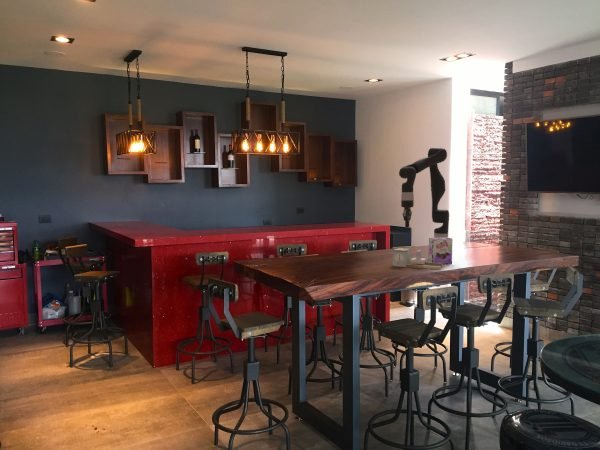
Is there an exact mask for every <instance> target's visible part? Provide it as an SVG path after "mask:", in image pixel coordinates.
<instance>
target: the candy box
mask: <svg viewBox="0 0 600 450" xmlns="http://www.w3.org/2000/svg"><path fill="white" fill-rule="evenodd" d="M427 257H428V259H427V262H433V263H442V265H448V264H449V265H450V264H451V265H452V264H453V238H452V237H448V238H434V237H428V256H427Z"/></svg>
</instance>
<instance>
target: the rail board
mask: <svg viewBox="0 0 600 450" xmlns="http://www.w3.org/2000/svg"><path fill="white" fill-rule="evenodd" d="M410 261H411V260H410ZM410 261H408V264H406V267H405V268H415V269H425V270H428V269H430V270H441V269H443V268H444V264H442V263H433V262H428V261H426V262H425V264H413V263H411V262H410Z"/></svg>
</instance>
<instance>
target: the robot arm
mask: <svg viewBox="0 0 600 450" xmlns="http://www.w3.org/2000/svg"><path fill="white" fill-rule="evenodd" d="M427 152H428V153H427V157H423V158H420V159H418V160H416V161H414V162H413V163H411V164H407V165H404V166H402V167H401V168H400V169H399V171H398V175H399V177H400V178H401V179H405V180H406V181H405V182H402V184H401V196H400V198H401V199H400V201H401V202H400V203H401V204H400V206H401V208H403V211H402V212H403V213H402V217H403V221H404V222H405V223H404V227H405V228H410V221H411V219H412V214H413V212H412V209H411V208H414V206H415V205H414V204H415V203H414V201H415V200H414V199H415V198H414V197H415V196H414V184H415V180H416V176H417V174H419V173H421V172H422V171H425V170H426V169H428V168H429V178H430V193H431V220H432V222H433V223H434V224H441V226H439V227H436V228H434V229H433V238H449V225H450V223H449V222H450V212H449V210H448V209H439V207H438V206H439V203H440V201H441V199H442V198H443V196H444V194H445V193H446V180H445V179H444V176H443V174H442V172H441V171H440V169H439V165H438V164H441V163H443V162H445V161H446V160H447V157H448V152H447V150H446V149H445V148H443V147H430V148H429V149H428V151H427Z"/></svg>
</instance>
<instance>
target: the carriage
mask: <svg viewBox="0 0 600 450" xmlns="http://www.w3.org/2000/svg"><path fill="white" fill-rule="evenodd" d="M422 255H423V253H422V249H418V250H416V251H415V257H412V258H410V262H411V263H413V264H425V262H428V259H427V258H426V257H425V258H423V257H422Z"/></svg>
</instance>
